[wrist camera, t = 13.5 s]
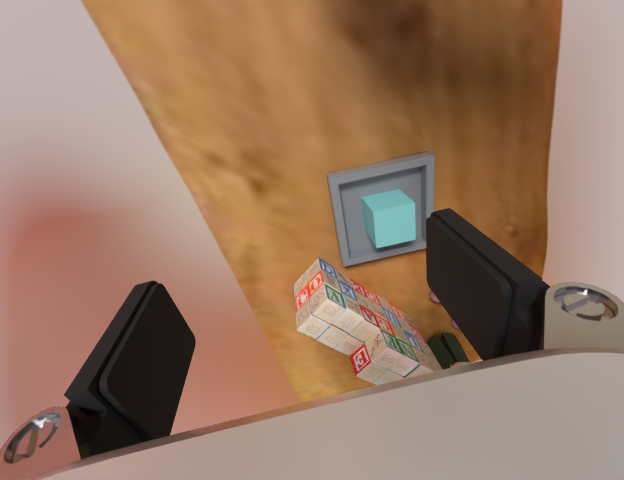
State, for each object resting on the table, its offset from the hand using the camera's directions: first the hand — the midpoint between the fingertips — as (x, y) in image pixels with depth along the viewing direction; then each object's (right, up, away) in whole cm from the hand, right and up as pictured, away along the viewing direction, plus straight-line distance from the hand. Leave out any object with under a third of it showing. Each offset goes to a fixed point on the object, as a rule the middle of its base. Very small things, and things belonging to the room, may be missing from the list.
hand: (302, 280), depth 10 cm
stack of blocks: (+7, -9, +37) cm, 39 cm away
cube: (+10, +5, +29) cm, 31 cm away
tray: (+10, +6, +30) cm, 32 cm away
